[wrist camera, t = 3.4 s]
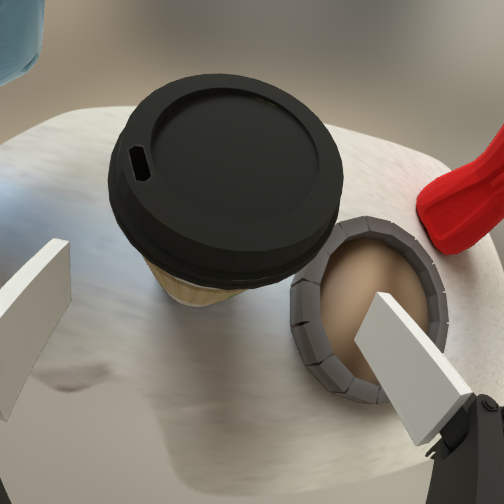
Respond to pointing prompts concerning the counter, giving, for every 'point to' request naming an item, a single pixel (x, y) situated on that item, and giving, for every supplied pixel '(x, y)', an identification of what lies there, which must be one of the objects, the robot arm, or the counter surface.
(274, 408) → the counter surface
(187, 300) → the coffee cup
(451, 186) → the red curved bottle
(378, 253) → the round tray
